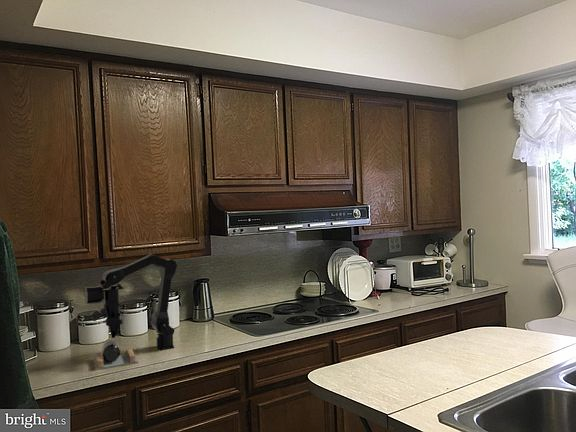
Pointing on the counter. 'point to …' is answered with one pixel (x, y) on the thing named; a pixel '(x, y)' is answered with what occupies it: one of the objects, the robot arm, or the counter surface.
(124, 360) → the rubber mat
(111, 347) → the supplement bottle
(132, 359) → the cradle rails
